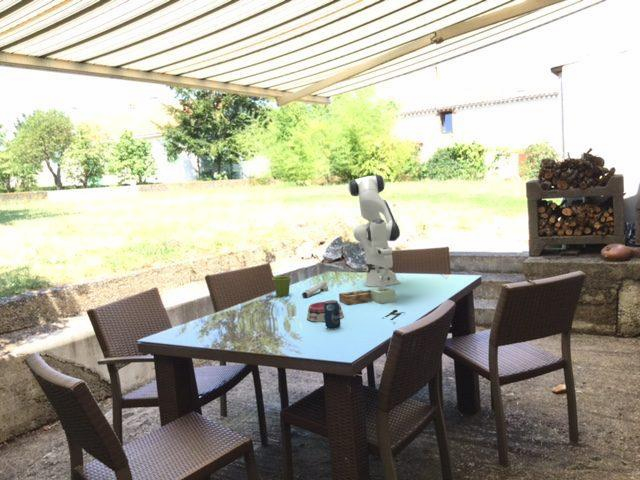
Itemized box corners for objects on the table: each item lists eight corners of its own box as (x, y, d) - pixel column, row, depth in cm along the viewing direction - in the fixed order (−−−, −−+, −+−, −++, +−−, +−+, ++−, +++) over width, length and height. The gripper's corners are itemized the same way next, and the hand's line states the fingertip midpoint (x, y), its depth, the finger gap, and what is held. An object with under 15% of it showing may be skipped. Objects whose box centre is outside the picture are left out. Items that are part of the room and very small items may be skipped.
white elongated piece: (300, 291, 315) (321, 278, 335) (302, 302, 316) (323, 288, 337) (307, 292, 312) (328, 278, 332) (309, 302, 313) (330, 289, 334)
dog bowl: (351, 316, 261) (350, 302, 260) (326, 324, 248) (325, 310, 247) (324, 312, 274) (323, 299, 273) (299, 320, 260) (297, 306, 260)
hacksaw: (394, 312, 263) (394, 309, 263) (413, 313, 257) (413, 310, 257) (372, 324, 243) (372, 321, 242) (393, 325, 237) (393, 322, 237)
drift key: (376, 297, 298) (376, 288, 298) (378, 298, 296) (378, 289, 296) (357, 300, 294) (356, 291, 294) (359, 301, 292) (358, 292, 292)
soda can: (335, 329, 236) (333, 303, 235) (322, 328, 240) (320, 302, 239) (343, 326, 242) (341, 300, 241) (330, 325, 245) (328, 299, 244)
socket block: (362, 297, 301) (361, 290, 300) (371, 301, 289) (370, 293, 289) (339, 301, 296) (338, 293, 296) (347, 305, 285) (346, 297, 284)
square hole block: (387, 298, 295) (386, 287, 294) (395, 301, 285) (395, 290, 285) (371, 300, 292) (370, 289, 291) (379, 303, 282) (378, 292, 282)
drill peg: (384, 299, 291) (383, 274, 290) (387, 300, 287) (386, 275, 286) (378, 300, 290) (377, 275, 288) (381, 301, 286) (380, 276, 285)
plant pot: (270, 297, 324) (268, 279, 323) (278, 293, 335) (277, 276, 334) (287, 297, 319) (285, 279, 318) (295, 293, 330) (294, 276, 329)
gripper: (366, 248, 295) (368, 272, 296) (383, 251, 275) (385, 277, 277) (377, 247, 297) (378, 271, 298) (394, 250, 278) (396, 276, 279)
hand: (382, 274), depth 287 cm, fingers open, 8 cm apart
